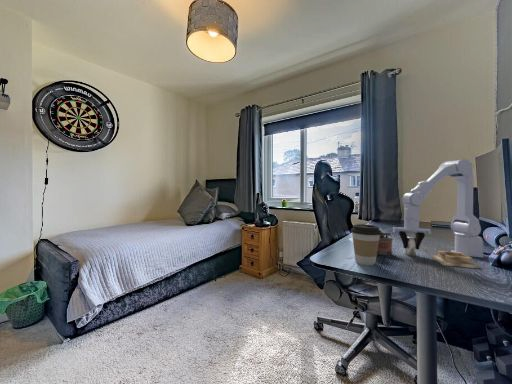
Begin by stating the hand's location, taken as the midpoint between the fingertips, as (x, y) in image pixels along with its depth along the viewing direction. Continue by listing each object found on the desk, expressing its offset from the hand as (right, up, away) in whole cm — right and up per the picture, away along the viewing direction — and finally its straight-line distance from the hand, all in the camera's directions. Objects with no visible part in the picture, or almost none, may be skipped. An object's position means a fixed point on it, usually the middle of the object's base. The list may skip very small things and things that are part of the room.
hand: (410, 248), depth 109 cm
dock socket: (+11, -3, -10) cm, 16 cm away
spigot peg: (0, -3, 0) cm, 3 cm away
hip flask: (-12, -3, +2) cm, 13 cm away
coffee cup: (-26, -3, -12) cm, 29 cm away
